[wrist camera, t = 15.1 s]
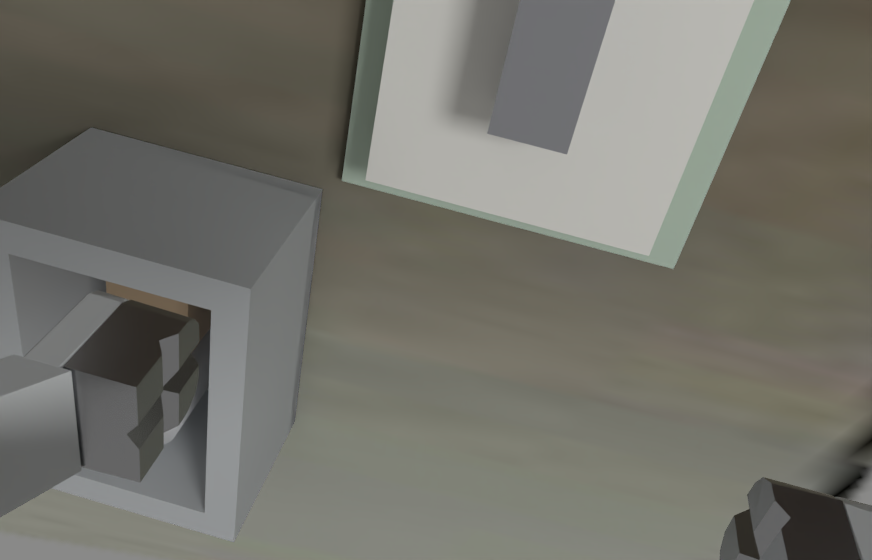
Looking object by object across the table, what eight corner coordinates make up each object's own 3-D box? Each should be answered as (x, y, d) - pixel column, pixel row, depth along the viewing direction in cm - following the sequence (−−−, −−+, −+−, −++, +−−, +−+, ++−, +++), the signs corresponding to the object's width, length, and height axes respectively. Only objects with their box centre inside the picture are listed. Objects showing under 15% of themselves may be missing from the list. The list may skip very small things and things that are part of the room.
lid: (450, -276, 27) (417, -286, 22) (815, -192, 26) (855, -185, 22) (379, 158, 36) (345, 211, 32) (647, 229, 36) (651, 294, 31)
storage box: (91, 127, 39) (-34, 210, 32) (322, 189, 38) (250, 288, 31) (106, 367, 48) (12, 476, 40) (294, 421, 47) (233, 542, 40)
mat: (416, -349, 26) (413, -351, 26) (891, -242, 26) (896, -242, 25) (344, 176, 38) (341, 180, 37) (672, 263, 37) (673, 268, 36)
